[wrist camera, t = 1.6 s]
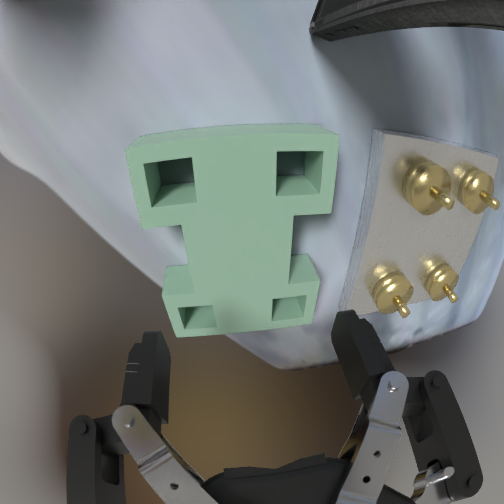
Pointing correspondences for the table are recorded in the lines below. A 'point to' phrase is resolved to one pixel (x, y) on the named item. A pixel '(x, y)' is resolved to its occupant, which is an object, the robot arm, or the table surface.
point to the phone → (401, 16)
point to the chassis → (416, 221)
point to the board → (236, 222)
